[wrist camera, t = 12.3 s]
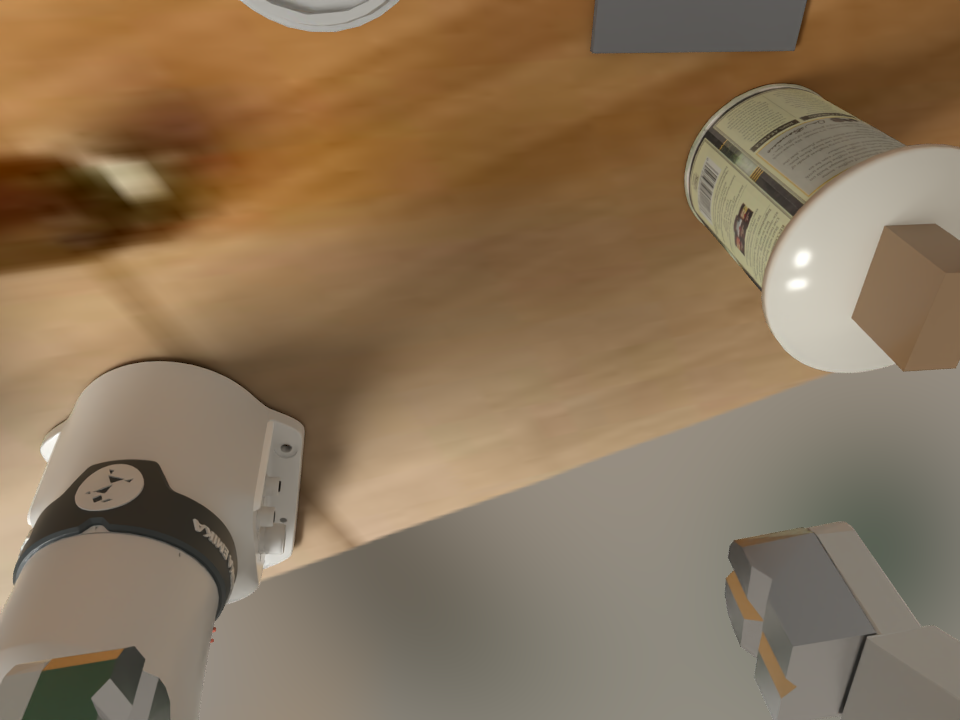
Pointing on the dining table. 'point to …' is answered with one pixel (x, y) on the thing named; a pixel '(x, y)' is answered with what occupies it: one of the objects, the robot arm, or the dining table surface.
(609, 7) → the mat
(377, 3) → the disposable coffee cup
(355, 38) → the dining table surface
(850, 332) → the lid
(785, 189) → the coffee can
